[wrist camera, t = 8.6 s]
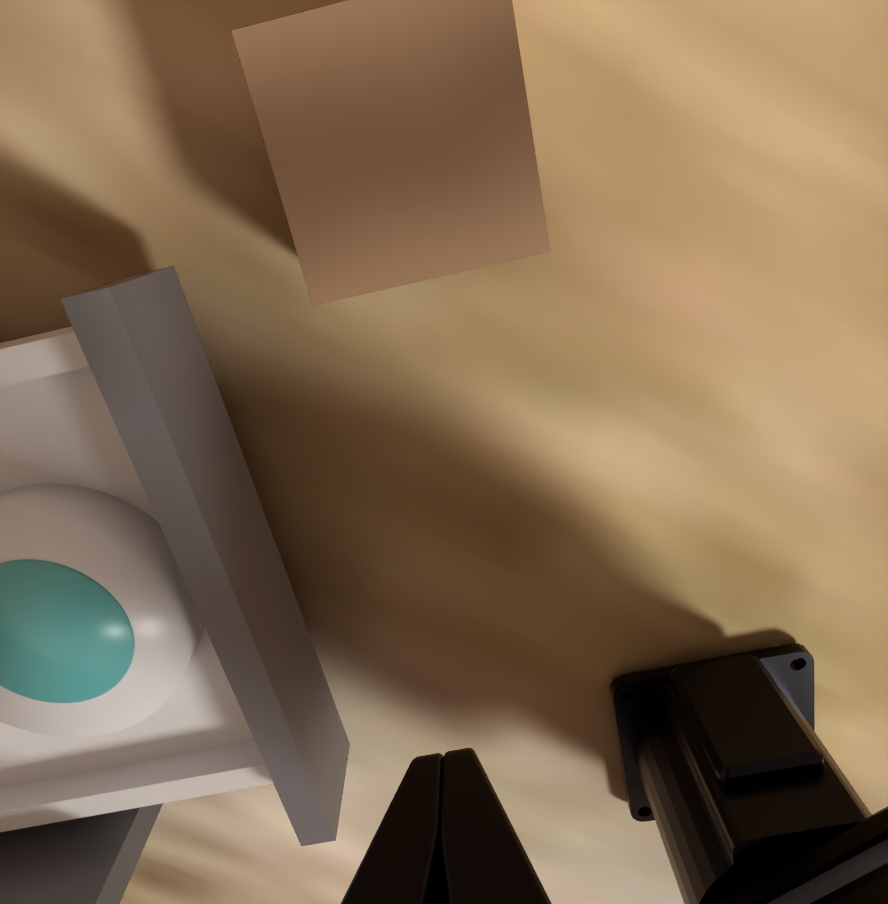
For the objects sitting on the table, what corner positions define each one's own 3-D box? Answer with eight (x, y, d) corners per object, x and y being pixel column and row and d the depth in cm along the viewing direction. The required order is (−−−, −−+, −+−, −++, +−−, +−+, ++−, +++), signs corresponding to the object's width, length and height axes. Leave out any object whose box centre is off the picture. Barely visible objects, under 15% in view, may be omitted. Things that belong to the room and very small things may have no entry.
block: (527, 237, 17) (550, 251, 13) (335, 281, 17) (312, 305, 14) (489, 7, 15) (505, -41, 11) (274, 62, 15) (231, 30, 12)
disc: (239, 673, 19) (221, 716, 18) (17, 712, 20) (-20, 758, 18) (151, 459, 17) (121, 488, 15) (-103, 511, 17) (-157, 544, 16)
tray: (349, 744, 22) (335, 840, 18) (-32, 813, 22) (-107, 916, 19) (173, 266, 16) (108, 287, 13) (-332, 386, 17) (-511, 433, 13)
